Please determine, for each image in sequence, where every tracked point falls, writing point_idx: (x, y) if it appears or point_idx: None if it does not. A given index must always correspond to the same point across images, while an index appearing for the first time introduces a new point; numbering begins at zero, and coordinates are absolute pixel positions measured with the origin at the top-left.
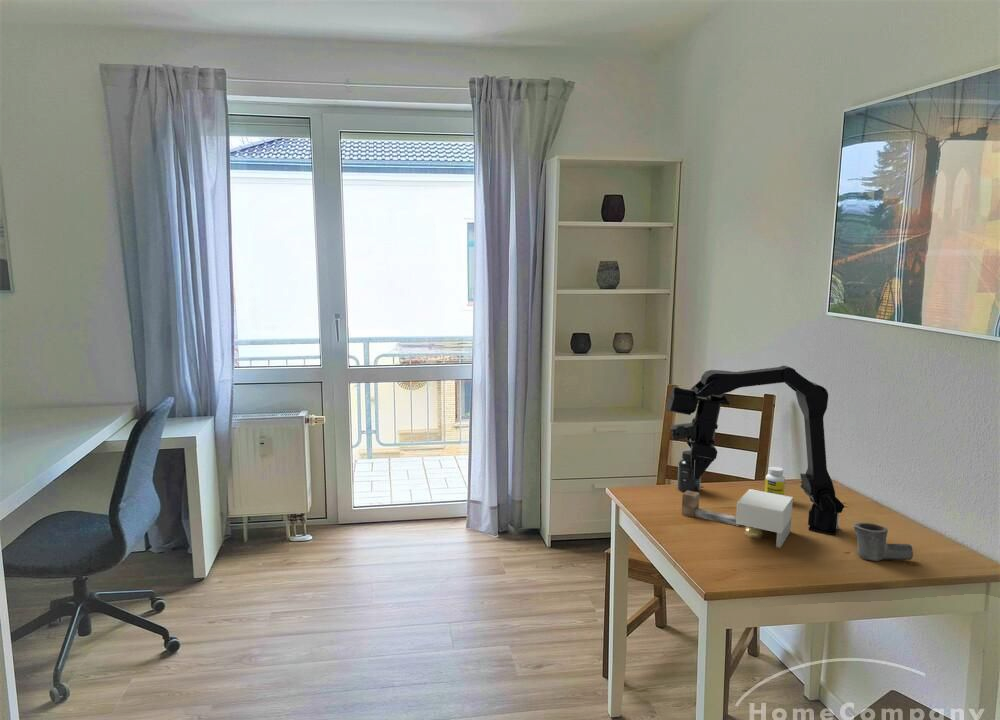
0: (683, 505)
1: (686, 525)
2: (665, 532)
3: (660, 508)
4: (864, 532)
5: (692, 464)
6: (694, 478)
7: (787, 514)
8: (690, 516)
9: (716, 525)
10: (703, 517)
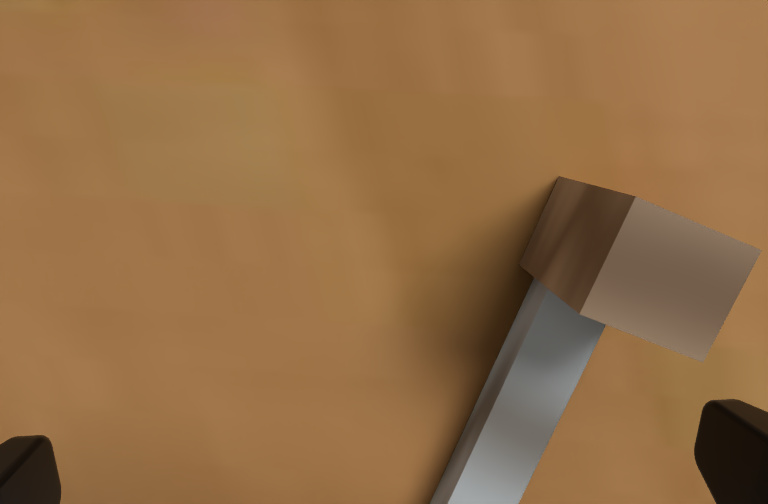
0: (584, 196)
1: (339, 201)
2: (148, 29)
3: (669, 9)
4: None
5: (764, 461)
6: (14, 438)
7: None
8: (530, 241)
9: (391, 408)
10: (512, 333)
